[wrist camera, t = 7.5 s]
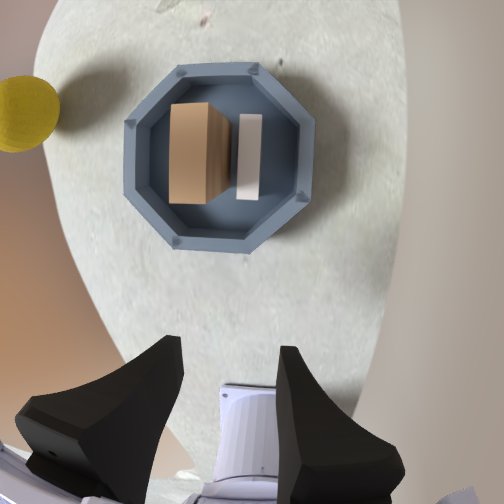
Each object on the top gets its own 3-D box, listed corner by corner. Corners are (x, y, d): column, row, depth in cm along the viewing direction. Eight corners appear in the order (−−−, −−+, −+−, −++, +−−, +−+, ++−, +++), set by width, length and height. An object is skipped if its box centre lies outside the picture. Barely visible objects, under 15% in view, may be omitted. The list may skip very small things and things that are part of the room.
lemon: (24, 135, 18) (-45, 139, 11) (49, 76, 17) (-19, 62, 9) (61, 160, 19) (-15, 170, 11) (90, 95, 17) (16, 79, 10)
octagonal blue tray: (301, 243, 20) (306, 258, 17) (144, 234, 20) (125, 246, 17) (311, 79, 16) (317, 66, 14) (147, 81, 17) (128, 71, 14)
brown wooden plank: (230, 187, 18) (205, 203, 12) (206, 187, 18) (169, 203, 12) (232, 123, 17) (208, 102, 10) (208, 123, 17) (171, 104, 10)
